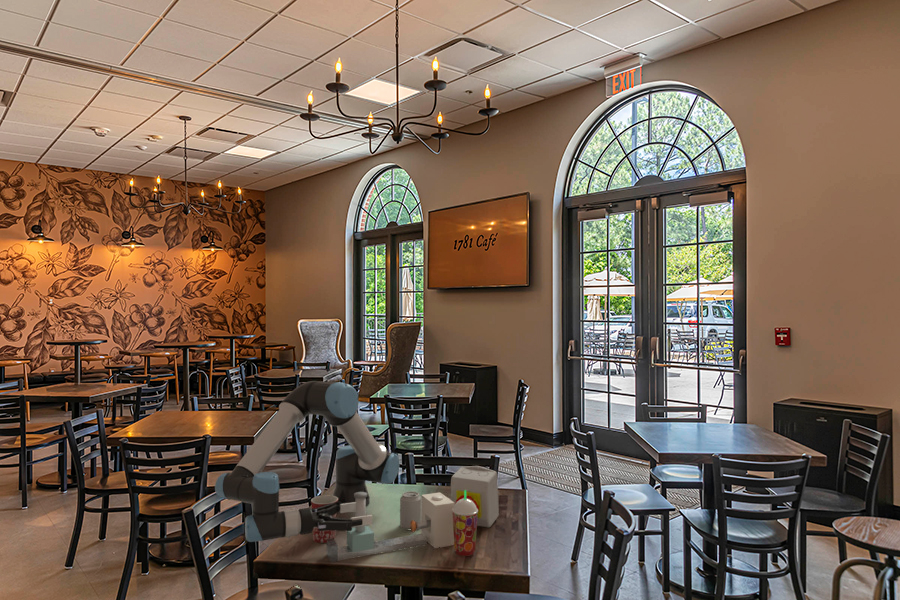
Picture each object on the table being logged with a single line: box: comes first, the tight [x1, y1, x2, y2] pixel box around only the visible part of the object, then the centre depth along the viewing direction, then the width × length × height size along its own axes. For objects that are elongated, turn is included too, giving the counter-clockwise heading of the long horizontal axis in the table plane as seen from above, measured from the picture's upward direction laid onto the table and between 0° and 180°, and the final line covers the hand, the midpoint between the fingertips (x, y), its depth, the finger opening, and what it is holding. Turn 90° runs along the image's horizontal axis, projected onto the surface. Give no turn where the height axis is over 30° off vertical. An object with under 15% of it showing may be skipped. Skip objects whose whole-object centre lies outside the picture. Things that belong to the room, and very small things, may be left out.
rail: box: [326, 533, 428, 563], centre depth 193 cm, size 6×32×5 cm, turn 115°
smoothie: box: [452, 490, 478, 557], centre depth 192 cm, size 8×8×20 cm
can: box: [399, 491, 421, 530], centre depth 214 cm, size 8×8×12 cm
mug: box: [310, 494, 338, 544], centre depth 204 cm, size 13×9×14 cm
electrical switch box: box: [450, 465, 500, 528], centre depth 217 cm, size 15×15×20 cm
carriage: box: [346, 492, 375, 552], centre depth 191 cm, size 7×7×17 cm
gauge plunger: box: [410, 520, 431, 533], centre depth 200 cm, size 4×9×4 cm, turn 115°
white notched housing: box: [420, 491, 455, 549], centre depth 202 cm, size 12×7×15 cm, turn 25°
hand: (365, 512), depth 191 cm, fingers open, 13 cm apart
